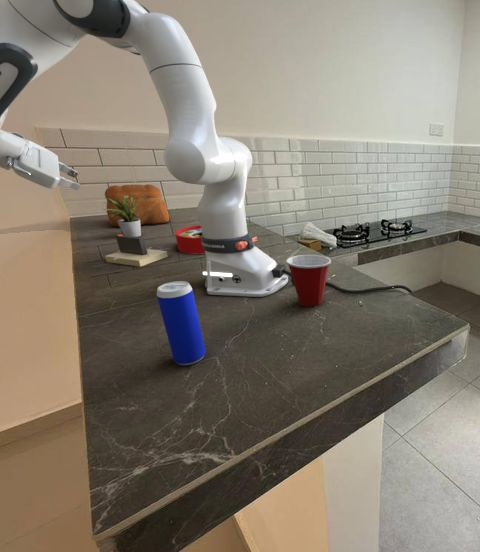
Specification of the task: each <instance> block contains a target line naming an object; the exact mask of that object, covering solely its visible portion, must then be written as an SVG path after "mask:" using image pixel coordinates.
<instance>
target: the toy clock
mask: <svg viewBox="0 0 480 552" xmlns="http://www.w3.org/2000/svg"><path fill="white" fill-rule="evenodd" d="M174 236H175V239H176V246H177V249H178V251H179V252H181V253H183V254H184V253H185V254H189V255H206V254H205V250H204V249H203V246H202V240H201V236H202V230H201V225H200V224H197V225H192V226H187V227H182V228H180V229H178V230H176V231H175V232H174Z"/></svg>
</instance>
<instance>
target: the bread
mask: <svg viewBox="0 0 480 552" xmlns="http://www.w3.org/2000/svg"><path fill="white" fill-rule="evenodd" d="M127 195H128V196H129V197H128V207H130V201H131V197H132V203H133V202H134V199H135V201H136V202H135V204H134V207H135V205H136V204H137V203H138V202H139V201H140V202H139V203H138V204H137V206H136V207H135V209H134V215H137V216H135V218H136V219H140V226H143V225H158V224H166V223H169V221H170V215H169V212H168V211H169V210H168V208H167V207H168V206H167V204H166V202H165V200H164V199H163V197H162V191H161V189H159V187H157V186H155V185H153V184H149V183H148V184H124V185H110V186H109V187H107V188H106V189H105V191H104V199H106V209H115V208H116V209H117V210H119V209H118V207H117V206H116V207H115V204H114V203H113V202H112V201H111V200H113V201H115V202H117V201H116V200H115V198H116V199H118V200H119V201H120V202H121V203H122V204H123V206H124V203H123V200H124V196H125V197H126V196H127ZM107 198H108V199H107ZM109 199H111V200H109ZM108 204H109V205H108ZM111 204H112V205H111ZM110 205H111V206H110ZM113 205H114V206H113ZM112 206H113V207H114V208H113V207H112ZM141 209H146V210H141ZM139 210H140V211H139ZM137 211H138V212H137ZM110 212H111V213H110ZM136 212H137V213H136ZM112 213H113V214H116V213H115V212H112V211H110V210H106V214H107V217H108V216H109V215H111V216H112ZM135 213H136V214H135ZM118 214H119V213H118ZM120 214H122V213H120ZM122 215H123V214H122ZM111 216H109V217H108V218H107V219H108V221H109V224H110V225H111V226H112V227H116V228H120V226H119V224H118V222H117V221H118V220H122V219H123V218H122V217H121V218H122V219H121V218H120V216H119V217H118V215H117V216H116V215H115V216H113V217H111ZM123 216H124V215H123Z"/></svg>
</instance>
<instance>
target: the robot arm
mask: <svg viewBox="0 0 480 552" xmlns="http://www.w3.org/2000/svg"><path fill="white" fill-rule="evenodd" d="M87 35H89V36H93V37H94V38H97V39H98V40H100V41H103V42H104V43H106V44H107V45H109V46H111V47H113V48H116V49H119V50H122V51H126V52H129V53H131V54H133V55H136V56H140V57H141V59H142V60H143V62H144V65H145V67H146V69H147V72H148V74H149V76H150V78H151V81H152V83H153V85H154V87H155V90H156V92H157V95H158V98H159V99H160V102H161V104H162V107H163V110H164V112H165V115H166V120H167V128H168V141H167V143H166V145H165V147H164V150H163V161H164V165H165V167H166V168H167V171H168V172H169V173H170V174H171V176H173V178H175V179H176V180H178V181H179V182H181V183H185V184H191V185H197V186H198V185H199V186H204V187H203V192H202V196H201V199H200V200H199V201H198V204H197V213H198V219H199V225H201V230H202V236H201V240H202V246H203V249H204V250H205V254H204V255H205V271H202V275H203V276H205V282H204V287H205V288H206V294H207V295H211V296H229V297H248V298H249V297H250V298H251V297H253V298H262V297H266V296H269V295H272V294H274V293H276V292H278V291H279V290H281V289H282V288H283V287H285V286H286V285H287V283H288V282H289V277H290V282H291V284H292V285H294V281H293V277H292V274H291V271H289V270H287V266H286V265H287V264H282V263H281V264H280V263H279V264H278V263H277V262H276V260H275V259H274V258H272V257H270V256H269V255H268V254H267V253H265V252H264V251H262V250H261V249H260V248H259V247H257V246H256V243H255V242H256V241H258V239H257V238H258V236H254V237H252V235H251V234H250V232H249V231H248V224H247V216H246V207H245V206H246V203H245V201H246V191H247V190H246V189H247V182H248V181H247V180H248V177H249V172H250V171H251V169H252V166H253V155H252V153H251V151H250V149H249V148H248V146H247V145H246V144H245V143H243V142H241V141H239V140H237V139H235V138H232V137H229V136H225V135H224V136H221V135H218V133H217V129H216V124H215V123H216V122H215V113H216V111H217V108H218V105H217V101H216V98H215V96H214V93H213V91H212V88H211V85H210V83H209V80H208V78H207V76H206V73H205V70H204V67H203V64H202V63H201V60H200V58H199V56H198V53H197V52H196V49H195V48H194V46H193V43H192V42H191V40H190V38H189V37H188V34H187V33H186V31H185V29H184V27H183V26H182V25H181V23H180V22H179V21H178V20H176V19H175V18H174V17H172V16H171V15H169V14H165V13H162V12H157V11H152V12H151V11H150V10H149V9H147V8H146V7H145V6H143V4H140V3H138V2H137V1H136V0H1V2H0V168H2V169H3V170H7V171H9V170H12V171H13V172H14V174H16V175H17V176H19V177H20V178H23V179H25V180H27V181H29V182H32V183H34V184H37V185H39V186H41V187H43V188H47V189H52V190H54V189H56V187H57V186H59V187H64V188H70V189H72V190H75V191H78V190H79V189H80V188H81V183H80V182H78V181H75V180H70V179H67V178H65V177H64V176H61V173H60V172H62V173H64V174H66V176H69V177H71V178H77V176H78V175H79V173H78V171H77V170H75V169H73V168H72V167H69V166H67V165H66V164H65V163H63V162H61V161H59V156H58V155H57V154H56V153H54V152H53V151H51V150H49V149H47V148H46V147H44V146H42V145H40V144H38V143H36V142H34V141H32V140H29V139H26V137H25V136H24V135H23V134H21V133H18V132H17V131H6V130H3V129H2V128H3V126H4V123H5V120H6V118H7V115H8V114H9V109H10V108H9V107H10V106H11V104H12V103H13V102H14V101H15V100H16V98H17V97H18V96H20V94H21V92H22V91H24V89H25V88H26V87H27V86H28V85H29V84H30V83H32V82H33V81H35V80H36V79H37V78H39V77H40V76H41V75H42V74H44V73H45V72H46V71H48V70H49V69H51V68H52V67H54V66H55V65H56V64H58V63H59V62H61V61H62V60H64V58H66V57H67V56H68V55H69V54H70V53H71V52H72V51H74V49H75V48H76V47H77V46H78V45H79V43H80V42H81V41H82V40H83V38H85V37H86V36H87ZM325 286H328V287H331V288H332V289H333V288H334V289H335V290H337V291H339V292H341V293H346V294H353V295H354V294H365V293H370V292H377V291H378V292H379V291H389V290H393V289H402V290H405V291H407V292H408V293H411V294H412V293H413V290H412V289H411V288H409V287H408V286H405V285H402V284H395V285H390V286H389V285H387V286H379V287H378V286H377V287H370V288H364V289H346V288H342V287H340V286H338V285H336V284H335V283H332V282H329V281H326V283H325ZM392 287H394V288H392Z"/></svg>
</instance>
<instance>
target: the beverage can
mask: <svg viewBox="0 0 480 552" xmlns="http://www.w3.org/2000/svg"><path fill="white" fill-rule="evenodd" d="M156 298H157V302H158V306H159V309H160V313H161V317H162V321H163V325H164V329H165V332H166V336H167V339H168V344H169V348H170V351H171V355H172V358H173V362H174V363H176V364H177V365H179V366H191V365H194V364H196V363H198V362H201V360H202V359H203V358H204V357H205V356H206V354H207V350H206V346H205V341H204V336H203V333H202V332H203V331H202V328H201V322H200V319H199V314H198V309H197V305H196V300H195V295H194V290H193V288H192V286H191V284H190V283H189V282H188V281H186V280H185V281H184V280H179V281H178V280H176V281H175V280H174V281H170V282H166V283H163V284H161V285H159V286H158V287H157V289H156Z"/></svg>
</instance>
